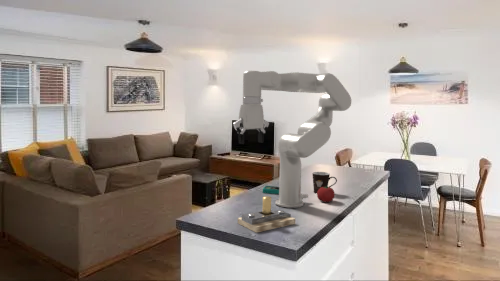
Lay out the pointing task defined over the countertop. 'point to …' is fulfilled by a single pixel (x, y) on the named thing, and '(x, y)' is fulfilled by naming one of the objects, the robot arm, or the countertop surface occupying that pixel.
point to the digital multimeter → (271, 189)
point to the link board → (267, 224)
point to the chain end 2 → (282, 215)
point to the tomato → (325, 194)
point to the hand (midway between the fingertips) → (251, 143)
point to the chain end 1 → (258, 217)
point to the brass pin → (266, 205)
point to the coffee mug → (321, 180)
